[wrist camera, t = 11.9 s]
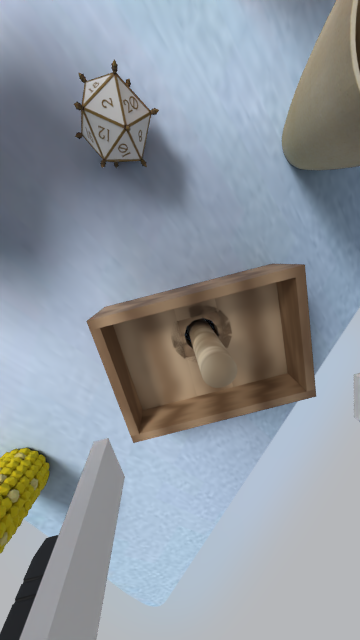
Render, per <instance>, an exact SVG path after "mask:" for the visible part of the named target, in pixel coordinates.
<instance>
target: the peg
mask: <svg viewBox="0 0 360 640" xmlns="http://www.w3.org/2000/svg"><path fill="white" fill-rule="evenodd" d="M188 333H189V336H190V339H191V343H192V346H193V349H194V352H195V355H196V359H197V362H198V365H199V368H200V371H201V375H202V378H203V380H204V381H205V383H206V384H208V385H209V386H211V387H214V388H222V387H225V386H227V385H229V384H230V383H232V382H233V380H234V379H235V377H236V375H237V365H236V363H235V362H234V360H233V359H232V357H231V356H230V354H229V353H228V351H227V350H226V348H225V347H224V345H223V344H222V343H221V341H220V340H219V338H218V337H217V335H216V334H215V332H214V331H213V329H212V328H211V326H210V325H209V323H208V322H207V321H206V320H204V319H197V320H193V321H192V322H191V323H190V324H189V326H188Z"/></svg>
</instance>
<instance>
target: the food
mask: <svg viewBox="0 0 360 640" xmlns="http://www.w3.org/2000/svg"><path fill="white" fill-rule="evenodd" d="M48 477H49V463H47V462H46V460H45V457H44V456H43V455H42V454H41V455H39V454H38V451H30V449H29V448H23V449H20V450H18V449H15V450H12V451H11V452H6V453H5V454H4V455H3V456H2V457H1V458H0V553H2V552H3V549H4V546H5V545H6V544H7V543H8V542H9V540H10V539H11V538H12V535H14V534H15V532H16V530H17V527H19V526H20V525H21V523H22V520H23V518H25V517H26V516H27V515H28V510H29V509H31V507H32V504H34V502H35V500H36V499H37V497H38V496H39V495H40V491H41V490H42V489H44V486H45V485H46V483H47V480H48Z"/></svg>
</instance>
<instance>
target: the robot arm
mask: <svg viewBox="0 0 360 640" xmlns="http://www.w3.org/2000/svg"><path fill="white" fill-rule="evenodd" d="M354 417H355V418H356V419H357V420H358V421H359V422H360V373H358V374H354ZM124 478H125V476H124V474H123V472H122V469H121V467H120V465H119V462H118V460H117V458H116V455H115V453H114V451H113V448H112V446H111V444H110V441H109V439H108V438H107V439H103V440H99V441H95V442H93V445H92V448H91V450H90V453H89V456H88V458H87V461H86V464H85V466H84V469H83V472H82V474H81V477H80V480H79V482H78V485H77V488H76V490H75V493H74V496H73V498H72V501H71V504H70V506H69V509H68V512H67V514H66V517H65V520H64V522H63V525H62V528H61V530H60V533H59V535H56V536H52V537H49V538H46V540H45V541H44V542H43V544H42V545H41V547H40V548H39V550H38V551H37V553H36V554H35V556H34V557H33V559H32V561H31V564H30V566H29V568H28V571H27V573H26V575H25V577H24V582H23V584H21V587H20V589H19V591H18V594H17V596H16V598H15V603H14V604H13V605H12V608H11V610H10V612H9V614H8V617H7V619H6V621H5V624H4V626H3V628H2V631H1V633H0V640H96V638H97V632H98V626H99V621H100V615H101V610H102V604H103V598H104V592H105V587H106V581H107V575H108V569H109V564H110V558H111V552H112V546H113V541H114V535H115V529H116V524H117V518H118V512H119V506H120V501H121V495H122V489H123V483H124Z"/></svg>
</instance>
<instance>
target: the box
mask: <svg viewBox="0 0 360 640" xmlns="http://www.w3.org/2000/svg"><path fill="white" fill-rule="evenodd" d="M201 318H204V319H208V320H211V321H212V322H213V324H214V328H215V329H214V332H215V334H216V335H217V337H218V338H219V340H220V341H221V343H222V344H223V345H224V347H225V348H226V350H227V351H228V353H229V354H230V356H231V357H232V359H233V360H234V362H235V363H236V365H237V375H236V377H235V379H234V380H233V382H232V383H230V384H229V385H227V386H225V387H222V388H214V387H211V386H209V385H208V384H206V383H205V381H204V380H203V378H202V375H201V371H200V368H199V365H198V362H197V359H196V355H195V352H194V349H193V346H192V343H191V342H190V341H189V340H188V339H187V338H186V337H185V331H186V328H187V326H188V325H189V324H190V323H191V322H192V321H193V320H197V319H201ZM87 324H88V326H89V329H90V331H91V334H92V337H93V339H94V342H95V344H96V347H97V350H98V352H99V355H100V357H101V360H102V363H103V365H104V368H105V370H106V373H107V376H108V378H109V381H110V383H111V386H112V388H113V391H114V394H115V396H116V399H117V401H118V404H119V407H120V409H121V412H122V414H123V417H124V420H125V422H126V425H127V427H128V430H129V433H130V435H131V438H132V440H133V443H135V442H139V441H143V440H147V439H151V438H155V437H159V436H163V435H167V434H170V433H174V432H178V431H182V430H186V429H190V428H194V427H198V426H202V425H206V424H210V423H214V422H218V421H221V420H225V419H229V418H233V417H237V416H241V415H245V414H249V413H253V412H257V411H261V410H265V409H269V408H273V407H276V406H280V405H284V404H288V403H292V402H296V401H300V400H304V399H308V398H312V397H316V389H315V378H314V366H313V354H312V343H311V331H310V319H309V308H308V296H307V285H306V273H305V265H300V264H269V265H266V266H262V267H258V268H254V269H250V270H246V271H242V272H238V273H235V274H231V275H227V276H223V277H219V278H215V279H211V280H208V281H204V282H200V283H196V284H192V285H188V286H184V287H181V288H177V289H173V290H169V291H165V292H161V293H157V294H153V295H150V296H146V297H142V298H138V299H134V300H130V301H126V302H123V303H119V304H115V305H111V306H107V307H104V308H103V309H102V310H100V311H99V312H98V313H96V314H95V315H94V316H93V317H91V318H90V319H89V320H87Z"/></svg>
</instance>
